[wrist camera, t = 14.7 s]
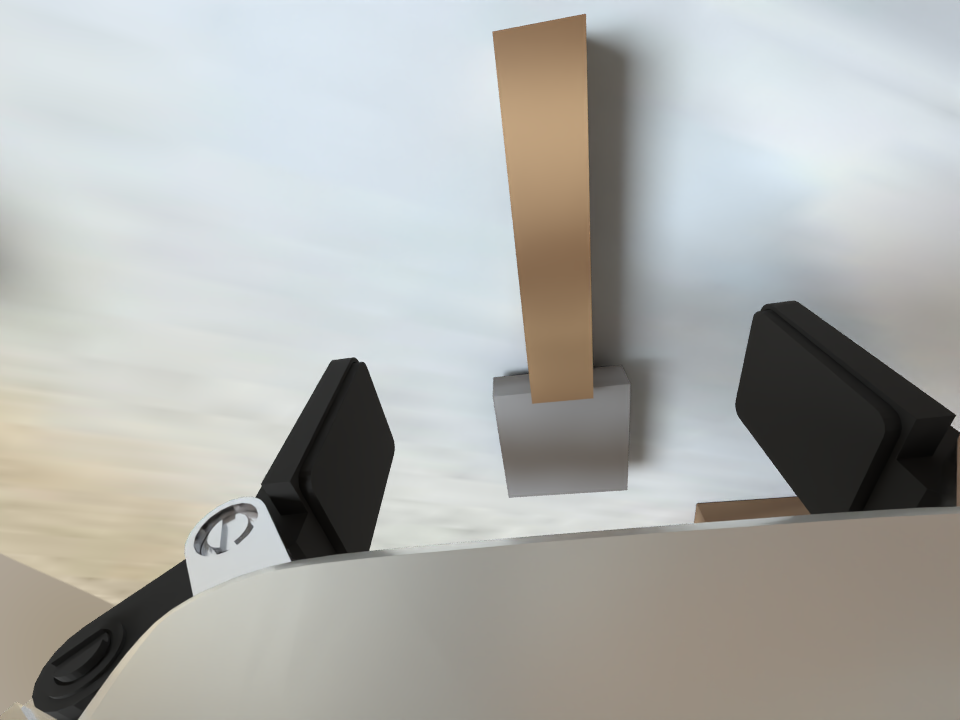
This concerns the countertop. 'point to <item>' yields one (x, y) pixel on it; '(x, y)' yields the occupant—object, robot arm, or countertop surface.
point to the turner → (554, 275)
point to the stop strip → (749, 509)
